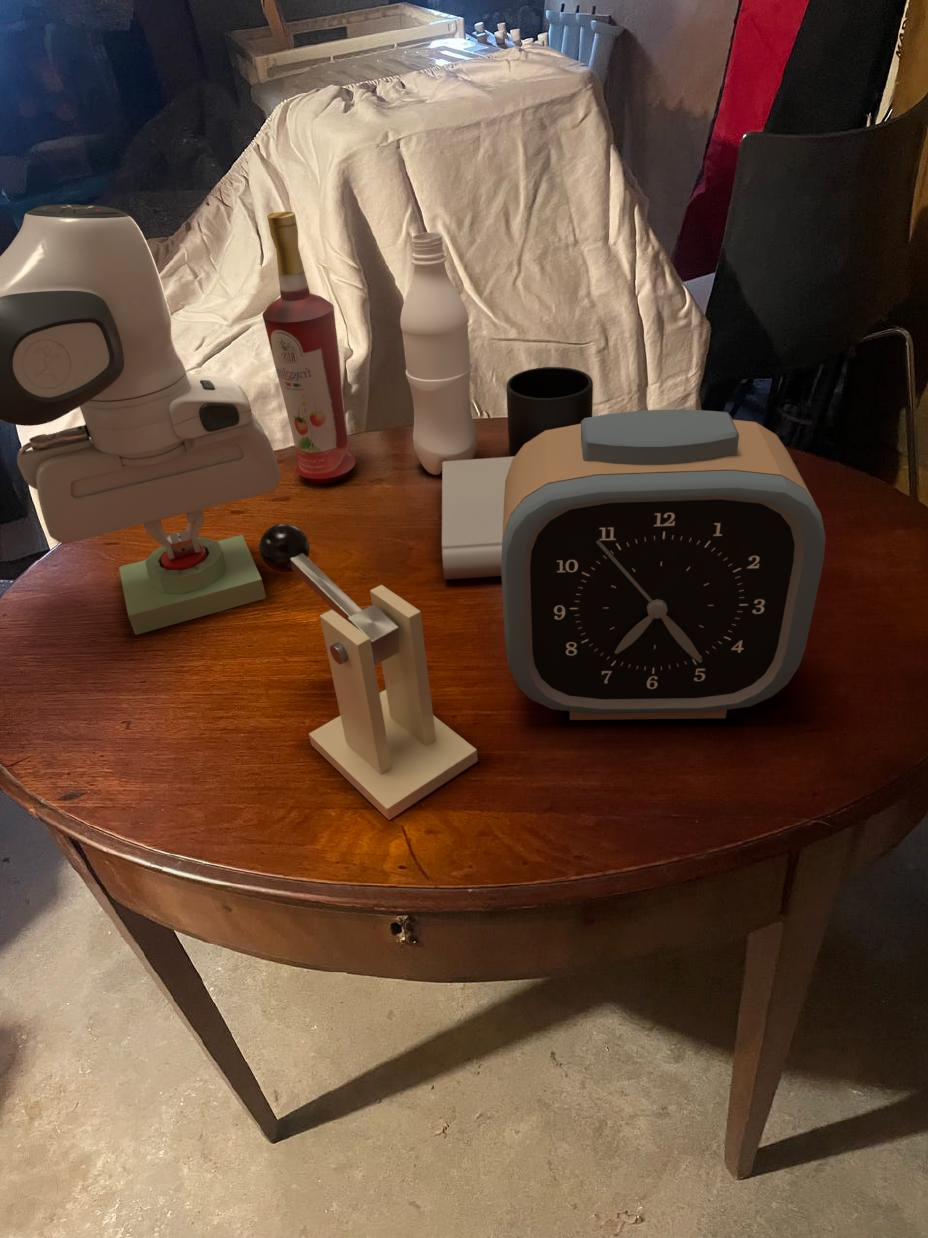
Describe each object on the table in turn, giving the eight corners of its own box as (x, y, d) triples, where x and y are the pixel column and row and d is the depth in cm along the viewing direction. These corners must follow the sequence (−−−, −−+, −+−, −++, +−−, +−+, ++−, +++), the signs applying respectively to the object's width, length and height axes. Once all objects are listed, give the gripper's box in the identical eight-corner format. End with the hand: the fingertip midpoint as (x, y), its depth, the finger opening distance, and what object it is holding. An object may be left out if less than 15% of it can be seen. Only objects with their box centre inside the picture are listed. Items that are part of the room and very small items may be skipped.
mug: (549, 425, 108) (549, 353, 103) (608, 461, 99) (610, 384, 94) (483, 446, 105) (479, 372, 99) (537, 484, 96) (536, 406, 91)
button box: (135, 635, 79) (122, 599, 76) (125, 585, 85) (113, 550, 83) (266, 598, 82) (257, 562, 79) (247, 553, 89) (238, 518, 86)
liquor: (370, 465, 103) (333, 207, 86) (336, 494, 97) (290, 225, 81) (318, 456, 105) (272, 204, 89) (283, 484, 100) (227, 222, 84)
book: (442, 461, 94) (667, 445, 93) (445, 492, 96) (665, 477, 95) (441, 552, 79) (709, 534, 78) (445, 587, 81) (704, 570, 81)
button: (169, 586, 80) (164, 570, 79) (163, 565, 83) (158, 549, 82) (212, 574, 81) (208, 558, 80) (205, 554, 84) (201, 538, 83)
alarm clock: (509, 730, 66) (495, 469, 53) (511, 650, 73) (499, 405, 60) (792, 727, 64) (849, 457, 51) (763, 645, 71) (807, 392, 58)
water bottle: (409, 458, 103) (383, 233, 88) (467, 447, 105) (451, 223, 90) (425, 485, 98) (400, 249, 83) (486, 472, 99) (472, 238, 84)
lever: (252, 564, 65) (246, 526, 62) (294, 545, 67) (290, 507, 64) (364, 678, 58) (362, 640, 55) (407, 653, 59) (408, 616, 57)
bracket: (310, 745, 66) (277, 607, 58) (396, 695, 70) (375, 559, 62) (389, 820, 59) (363, 677, 52) (478, 761, 63) (466, 619, 56)
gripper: (8, 457, 68) (69, 602, 76) (267, 399, 73) (298, 540, 81) (8, 427, 72) (65, 567, 81) (252, 375, 78) (282, 511, 86)
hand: (184, 553), depth 81 cm, fingers closed, pressing on button
